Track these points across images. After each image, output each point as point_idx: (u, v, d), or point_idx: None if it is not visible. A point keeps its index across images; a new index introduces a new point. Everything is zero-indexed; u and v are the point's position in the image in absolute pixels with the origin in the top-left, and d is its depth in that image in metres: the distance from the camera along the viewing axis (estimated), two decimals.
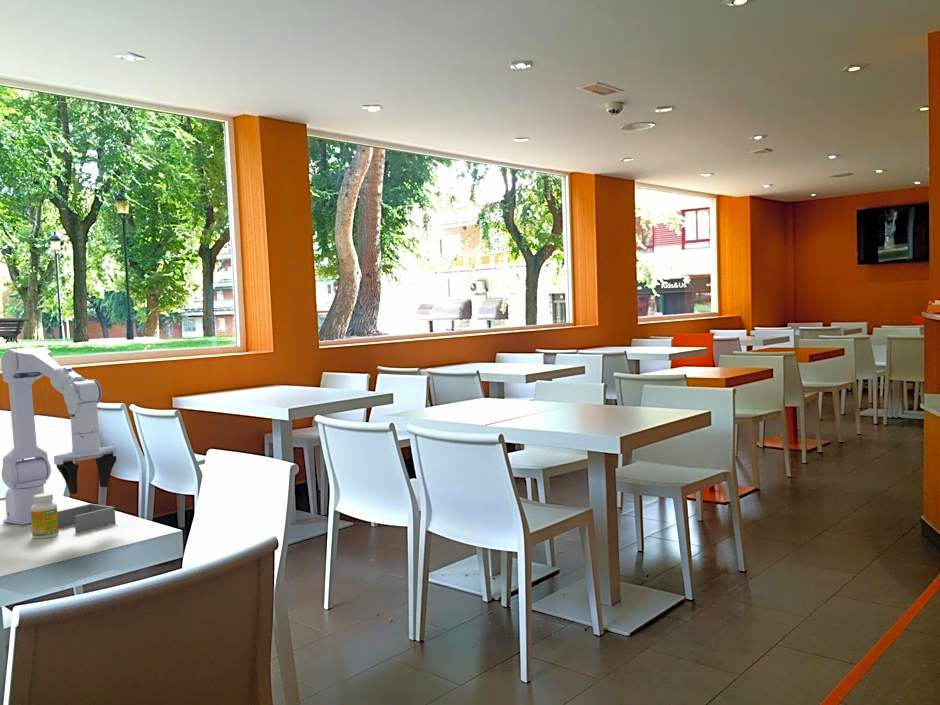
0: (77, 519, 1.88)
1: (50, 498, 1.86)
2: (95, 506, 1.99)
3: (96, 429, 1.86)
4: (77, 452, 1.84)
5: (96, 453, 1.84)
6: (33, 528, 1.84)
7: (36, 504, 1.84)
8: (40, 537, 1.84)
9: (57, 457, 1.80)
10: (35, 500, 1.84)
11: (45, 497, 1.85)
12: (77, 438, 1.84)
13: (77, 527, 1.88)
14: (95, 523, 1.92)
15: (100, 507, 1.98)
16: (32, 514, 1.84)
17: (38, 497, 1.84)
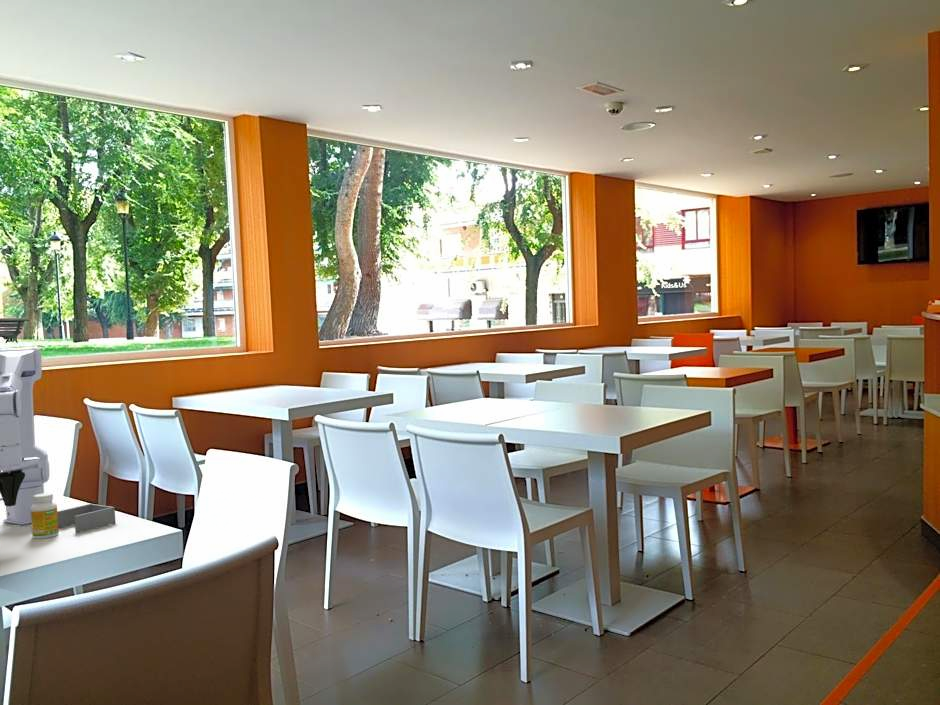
0: (77, 519, 1.88)
1: (50, 498, 1.86)
2: (95, 506, 1.99)
3: (10, 443, 1.77)
4: None
5: (16, 467, 1.77)
6: (33, 528, 1.84)
7: (36, 504, 1.84)
8: (40, 537, 1.84)
9: None
10: (35, 500, 1.84)
11: (45, 497, 1.85)
12: None
13: (77, 527, 1.88)
14: (95, 523, 1.92)
15: (100, 507, 1.98)
16: (32, 514, 1.84)
17: (38, 497, 1.84)
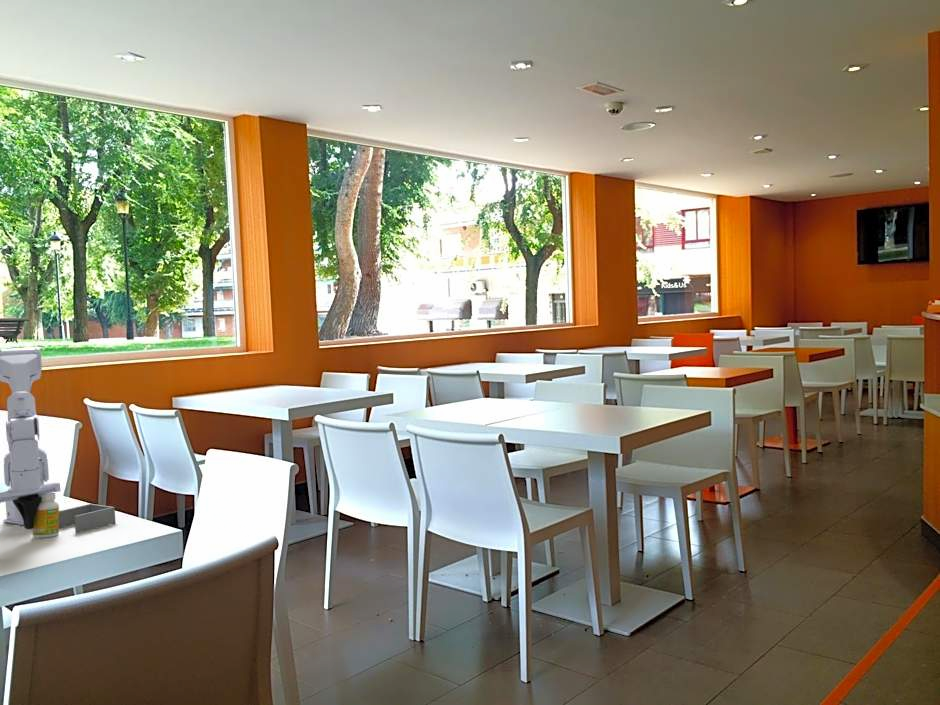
0: (77, 519, 1.88)
1: (53, 497, 1.86)
2: (95, 506, 1.99)
3: (31, 467, 1.81)
4: (16, 490, 1.80)
5: (36, 491, 1.81)
6: (34, 527, 1.84)
7: None
8: (40, 536, 1.84)
9: None
10: None
11: (48, 496, 1.85)
12: (16, 476, 1.80)
13: (77, 527, 1.88)
14: (95, 523, 1.92)
15: (100, 507, 1.98)
16: None
17: (41, 496, 1.84)
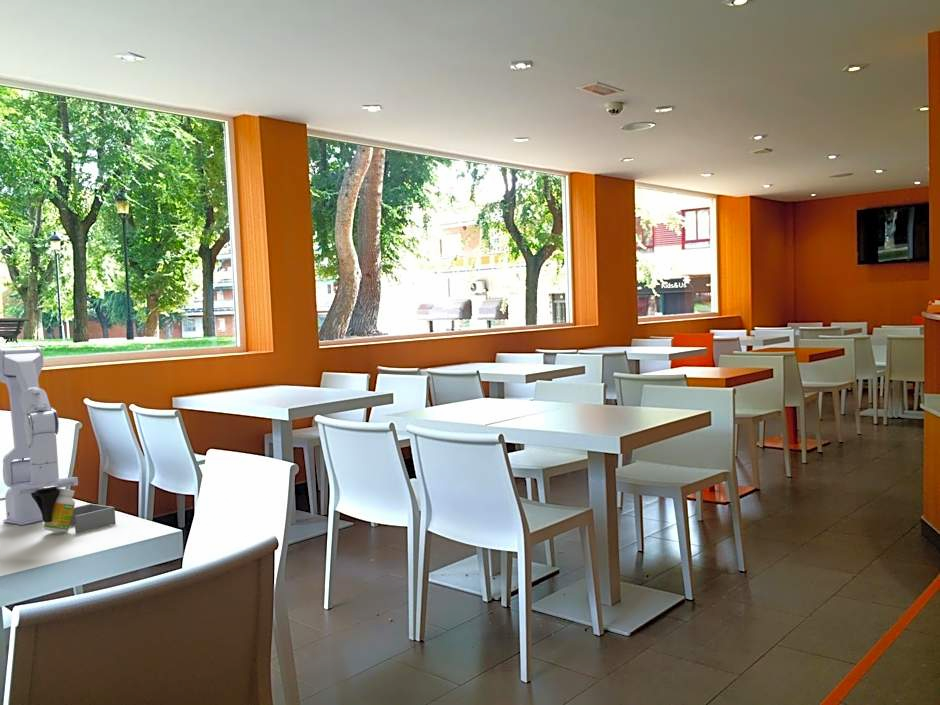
0: (77, 519, 1.88)
1: (72, 494, 1.89)
2: (95, 506, 1.99)
3: (52, 460, 1.85)
4: (35, 483, 1.83)
5: (54, 484, 1.84)
6: None
7: None
8: (52, 529, 1.85)
9: (14, 488, 1.79)
10: None
11: (68, 491, 1.88)
12: (35, 469, 1.83)
13: (77, 527, 1.88)
14: (95, 523, 1.92)
15: (100, 507, 1.98)
16: None
17: (62, 489, 1.88)
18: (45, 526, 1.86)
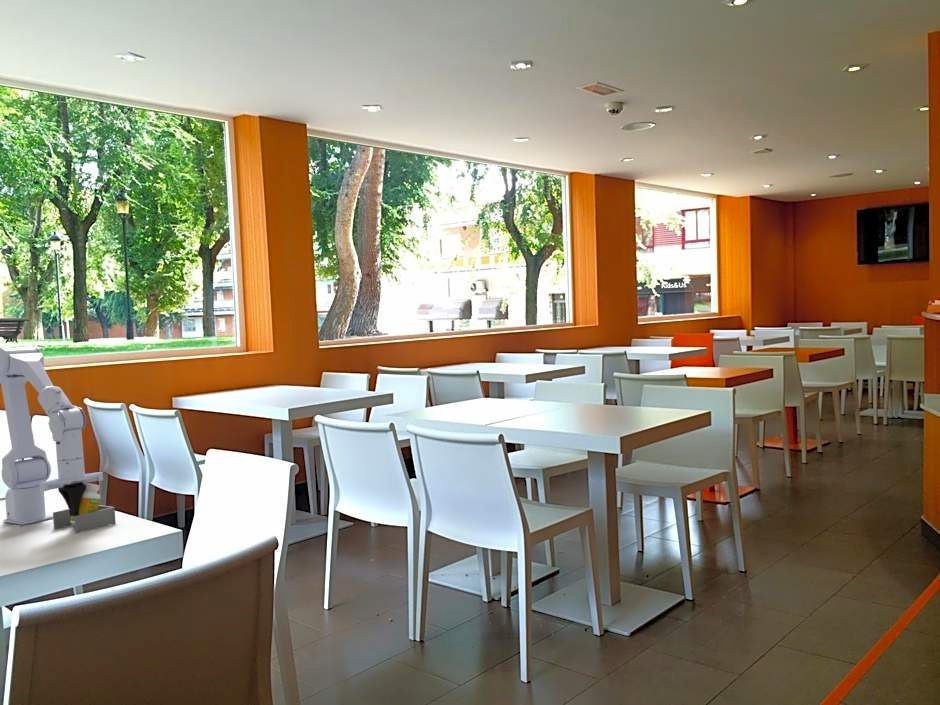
0: (77, 519, 1.88)
1: (97, 489, 1.95)
2: None
3: (81, 455, 1.91)
4: (62, 478, 1.88)
5: (81, 479, 1.89)
6: None
7: None
8: None
9: (42, 484, 1.85)
10: None
11: (94, 486, 1.94)
12: (62, 465, 1.88)
13: (77, 527, 1.88)
14: (95, 523, 1.92)
15: (100, 507, 1.98)
16: None
17: (88, 484, 1.93)
18: (72, 520, 1.91)
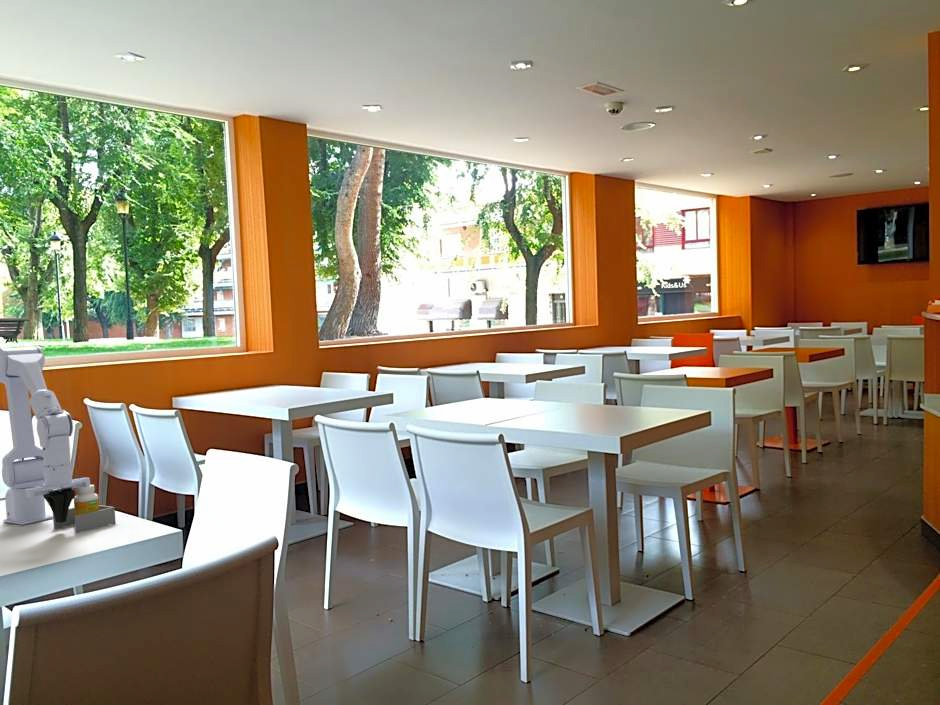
0: (77, 519, 1.88)
1: (93, 489, 1.94)
2: None
3: (67, 462, 1.88)
4: (49, 485, 1.86)
5: (68, 486, 1.87)
6: None
7: (79, 495, 1.93)
8: None
9: (29, 490, 1.83)
10: (78, 491, 1.93)
11: (88, 488, 1.93)
12: (49, 471, 1.86)
13: (77, 527, 1.88)
14: (95, 523, 1.92)
15: (100, 507, 1.98)
16: (76, 504, 1.92)
17: (82, 488, 1.93)
18: None
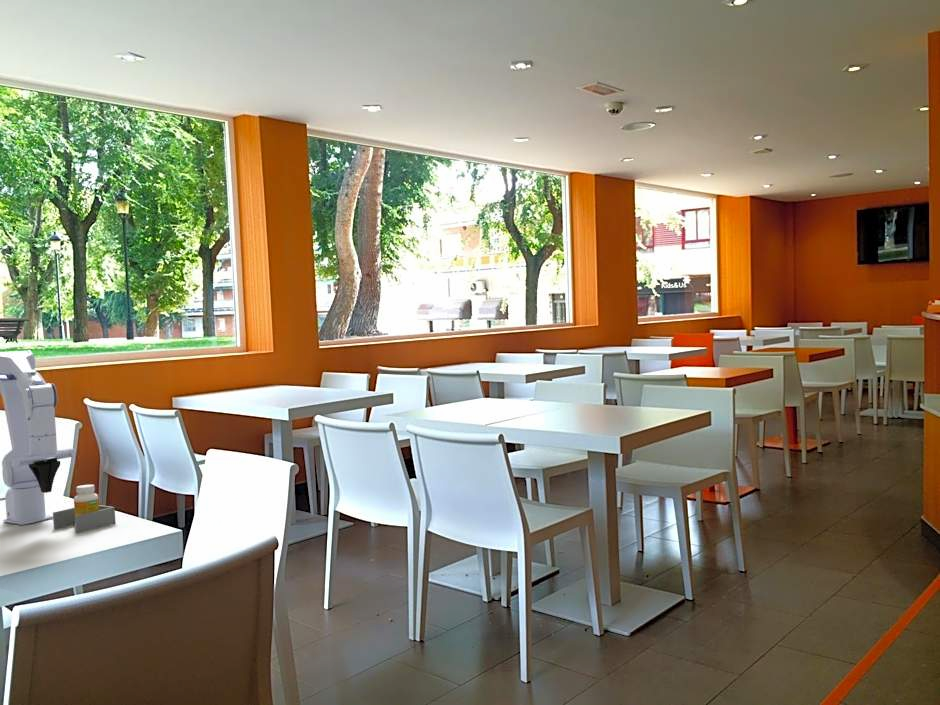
0: (77, 519, 1.88)
1: (93, 489, 1.94)
2: None
3: (51, 432, 1.89)
4: (34, 455, 1.88)
5: (53, 456, 1.88)
6: None
7: (79, 495, 1.93)
8: None
9: (13, 460, 1.84)
10: (78, 491, 1.93)
11: (88, 488, 1.93)
12: (34, 441, 1.87)
13: (77, 527, 1.88)
14: (95, 523, 1.92)
15: (100, 507, 1.98)
16: (76, 504, 1.92)
17: (81, 488, 1.93)
18: None
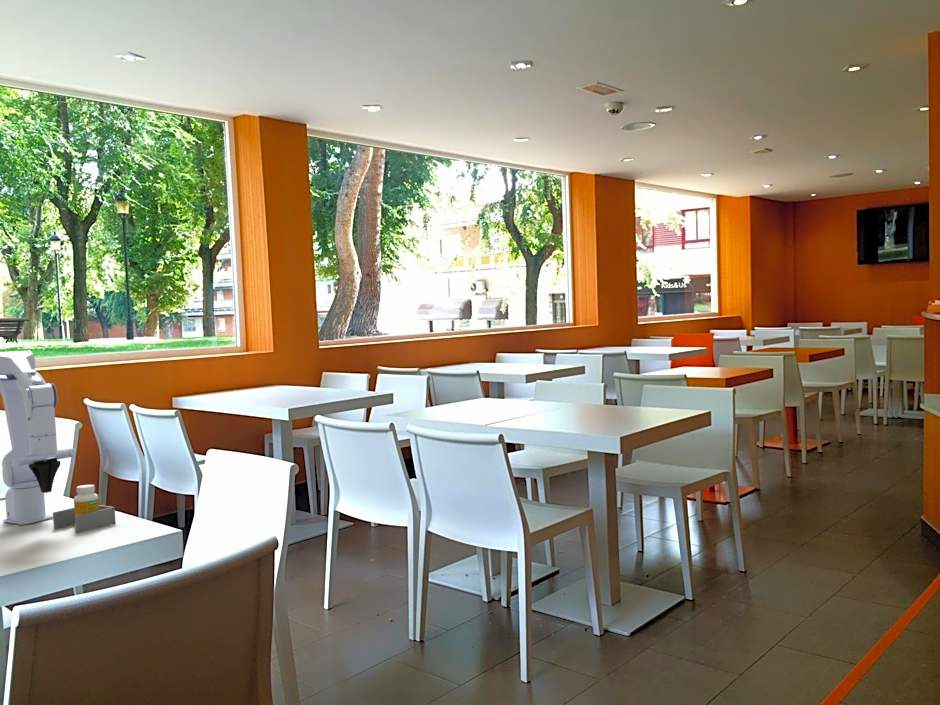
0: (77, 519, 1.88)
1: (93, 489, 1.94)
2: None
3: (51, 432, 1.89)
4: (34, 455, 1.88)
5: (53, 456, 1.88)
6: None
7: (79, 495, 1.93)
8: None
9: (13, 460, 1.84)
10: (79, 491, 1.93)
11: (88, 488, 1.93)
12: (34, 441, 1.87)
13: (77, 527, 1.88)
14: (95, 523, 1.92)
15: (100, 507, 1.98)
16: (76, 504, 1.92)
17: (82, 488, 1.93)
18: None
